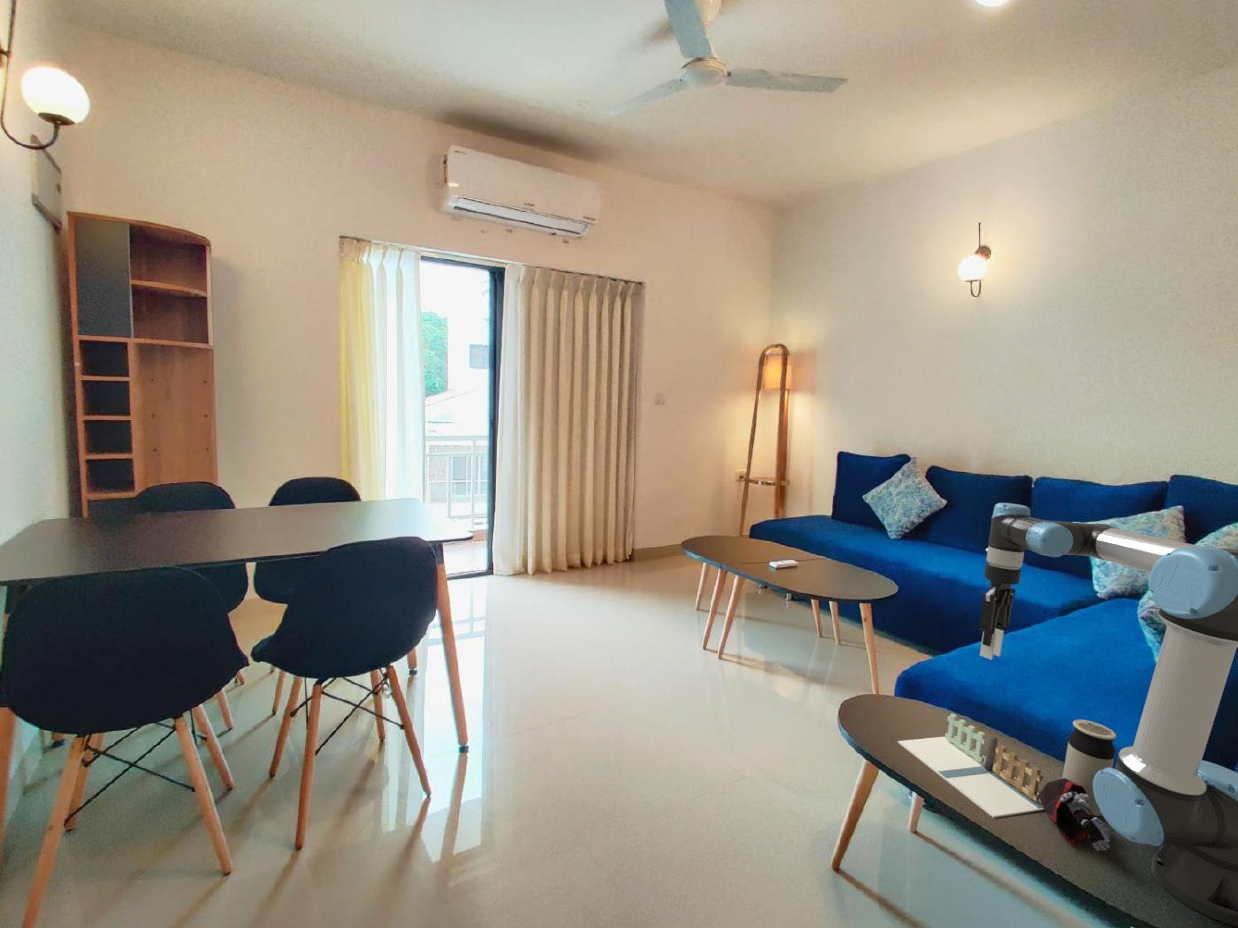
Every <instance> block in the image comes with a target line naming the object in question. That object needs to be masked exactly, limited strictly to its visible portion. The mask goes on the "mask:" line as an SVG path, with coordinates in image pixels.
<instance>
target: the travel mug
mask: <svg viewBox="0 0 1238 928" xmlns="http://www.w3.org/2000/svg"><path fill="white" fill-rule="evenodd" d="M1072 725H1073V728H1074V729H1073V731H1071V732H1070V733H1069V736H1068V741H1067V748H1066V753H1065V761H1064V765H1063V766H1064V767H1063V772H1062V778H1061V779H1063V778H1066V779H1068V780H1070V781H1072V782H1074V783H1076V784H1078V785H1080V786H1082V787H1083V788H1084V790H1085V791H1086V795H1088V796H1089V800H1088V806H1089V808H1090V810H1091V813H1092V814H1091V813H1090V812H1089V813H1088V814H1089V815H1093V816H1094V817H1099V816H1103V815H1102V813H1101V811H1100V808H1099V806H1098V804H1097V803H1096V800H1095V796H1094V792H1093V780H1094V777H1095V775H1096V773H1097V772H1098V771H1100V770H1103V769H1105V768H1114V767H1113V766H1114V759H1115V756H1116V748H1115V746H1114V744H1113V743H1114V740H1116V738H1117V734H1116V733H1115V732H1114V731H1113V729H1110V727H1109V728H1108V727H1107V726H1105V725H1103V724H1100V723H1097V722H1095V721H1090V720H1087V719H1075V720H1073V721H1072Z"/></svg>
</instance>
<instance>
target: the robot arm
mask: <svg viewBox="0 0 1238 928" xmlns="http://www.w3.org/2000/svg"><path fill="white" fill-rule="evenodd" d="M1025 549H1026V550H1028V551H1031V552H1034V553H1036V554H1038V555H1041V556H1047V557H1050V558H1059V557H1063V556H1064V555H1068V556H1084V557H1090V558H1094V559H1095V558H1096V559H1097V560H1102V561H1107V562H1110V563H1114V564H1118V565H1121V566H1124V567H1128V568H1132V569H1135V570H1138V571H1143V572H1147V573H1149V575H1148V584H1147V585H1148V590H1149V592H1151V593H1152V595H1150V597H1151V598H1152V601H1153V602H1154V604H1155V605H1156V606H1157V607H1158V608H1159V610H1158V614H1157V615H1158V617H1159V619H1161V620H1162V622H1163V623H1164V624H1165V625H1166V629H1165V633H1164V636H1163V640H1162V644H1161V646H1160V649H1159V654H1158V656H1157V660H1156V665H1155V668H1154V671H1153V674H1152V678H1151V682H1150V686H1149V689H1148V692H1147V695H1146V700H1145V703H1144V706H1143V711H1142V714H1141V717H1140V720H1139V723H1138V724H1139V725H1138V727H1137V731H1136V735H1135V739H1134V741H1133V745H1132V746H1126V747H1123V748H1122V749H1120V751H1119V752H1118V756H1117V759H1116V763H1115V767H1112V768H1105V769H1103V770H1100V771H1098V772H1097V773H1096V775H1095V777H1094V780H1093V792H1094V796H1095V800H1096V803H1097V804H1098V806H1099V808H1100V811H1101V813H1102V815H1101V816H1102V817H1103V818H1104V820H1105V821H1106V822H1107V823H1108V825H1109V826H1110V827H1111V828H1112V829H1113V830H1114V831H1115V832H1116V833H1117V834H1118V835H1120V836H1121V837H1122V838H1124V839H1125V840H1128V841H1130V842H1132V843H1136V844H1141V845H1150V846H1151V847H1159V848H1158V850H1157V852H1155V854H1154V856H1153V858H1152V863H1151V867H1150V868H1151V873H1152V875H1153V877H1154V879H1155V880H1156V881H1157V882H1158V883H1159V885H1160V886H1161V887H1162V888H1164V890H1166V891H1167V892H1168V893H1169V894H1170V895H1172V896H1173V897H1174V898H1175V899H1177V900H1179V901H1180V902H1181V903H1183V904H1184V905H1186V906H1188V907H1190V908H1191V909H1193V910H1195V911H1197V912H1199V911H1200V912H1199V913H1201V914H1202V915H1205V916H1207V917H1209V918H1211V919H1213V918H1214V920H1216V921H1219V922H1220V923H1224V924H1226V925H1227V924H1228V925H1230V926H1232V927H1233V926H1234V927H1238V772H1237V771H1233V770H1231V769H1230V768H1227V767H1224V766H1222V765H1219V764H1218V763H1217V764H1216V763H1213V762H1210V761H1207V760H1203V758H1204V757H1203V756H1204V753H1205V751H1206V747H1207V744H1208V741H1209V739H1210V738H1209V737H1210V735H1211V731H1212V729H1213V725H1214V721H1215V718H1216V715H1217V712H1218V709H1219V707H1220V701H1221V700H1222V696H1223V692H1224V690H1225V686H1226V683H1227V679H1228V676H1229V674H1230V670H1231V667H1232V663H1233V660H1234V656H1235V654H1236V652H1237V651H1236V650H1237V648H1238V549H1236V548H1235V549H1234V548H1222V547H1213V546H1211V545H1210V546H1202V545H1197V544H1192V543H1188V542H1182V541H1177V540H1173V539H1168V538H1163V537H1158V536H1153V535H1150V534H1149V535H1148V534H1144V533H1139V532H1136V531H1135V532H1134V531H1130V530H1126V529H1120V527H1117V526H1116V525H1115V526H1114V525H1110V524H1106V523H1105V524H1104V523H1084V522H1072V521H1071V522H1070V521H1061V520H1060V521H1059V520H1058V521H1057V520H1046V519H1040V518H1036V517H1031V508H1030V507H1028V506H1026V505H1022V504H1018V503H1011V502H998V503H996V504H995V505H994V507H993V513H992V516H991V524H990V531H989V538H988V547H986V549H985V552H986V553H987V555H986V563H985V567H984V573H983V576H984V578H985V579H986V580H988V581H990V583H989V586H988V587H987V592H985V591H982V595H981V596H982V603H981V610H980V611H981V612H980V620H979V628H978V630H979V631H982V636H981V644H980V651H979V656H980V657H983V658H986V659H989V660H990V661H991V660H993V659H994V658H993V657H994V656H997V657H1000V656H1001V654H1002V646H1003V641H1004V634H1005V633H1004V632H1005V631H1006V632H1009V630H1010V629H1009V626H1010V619H1011V614H1012V609H1013V603H1014V598H1015V594H1016V590H1017V589H1016V588H1013V587H1012V585H1014V586H1015V585H1018V584H1020V581H1021V575H1022V570H1021V568H1022V567H1023V562H1024V555H1025Z"/></svg>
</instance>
